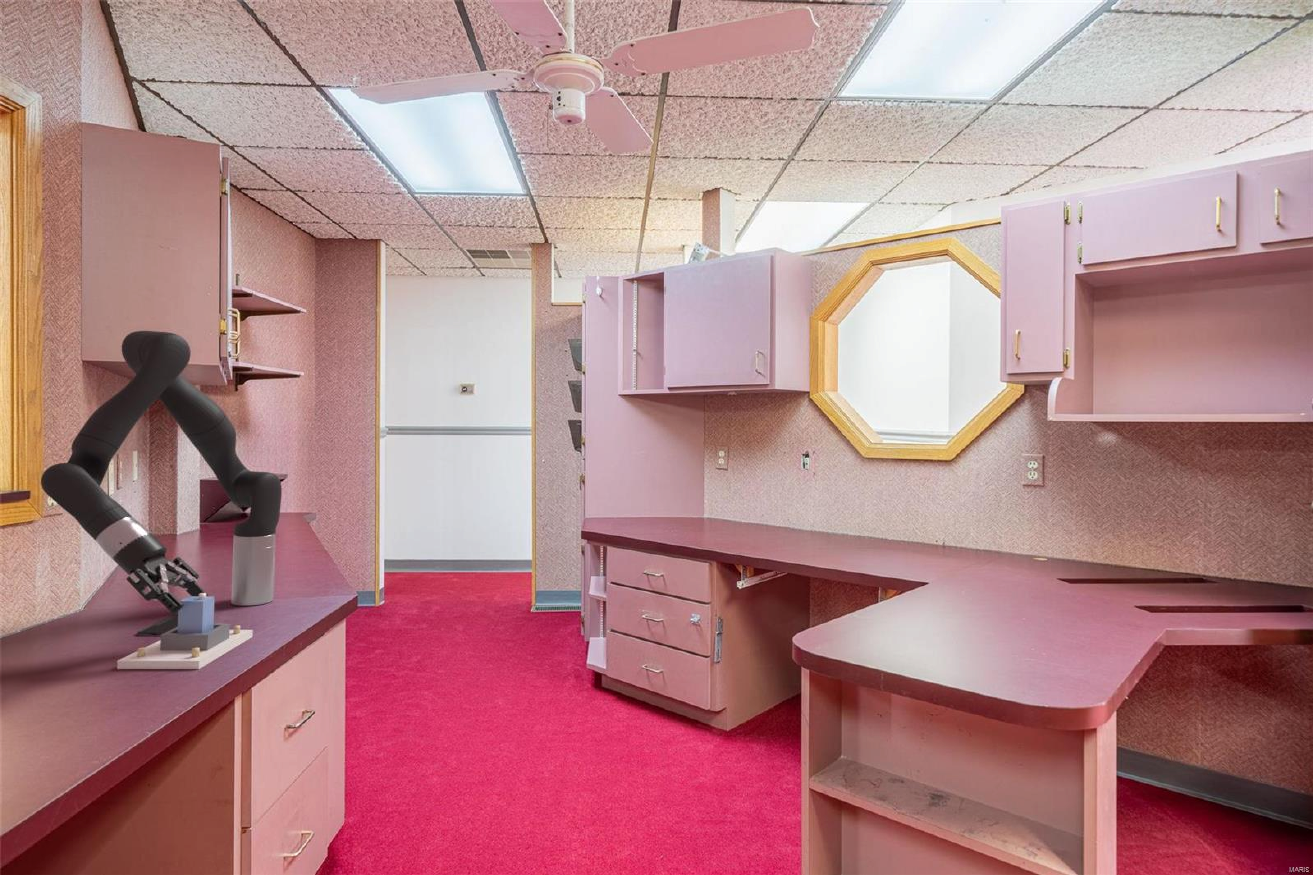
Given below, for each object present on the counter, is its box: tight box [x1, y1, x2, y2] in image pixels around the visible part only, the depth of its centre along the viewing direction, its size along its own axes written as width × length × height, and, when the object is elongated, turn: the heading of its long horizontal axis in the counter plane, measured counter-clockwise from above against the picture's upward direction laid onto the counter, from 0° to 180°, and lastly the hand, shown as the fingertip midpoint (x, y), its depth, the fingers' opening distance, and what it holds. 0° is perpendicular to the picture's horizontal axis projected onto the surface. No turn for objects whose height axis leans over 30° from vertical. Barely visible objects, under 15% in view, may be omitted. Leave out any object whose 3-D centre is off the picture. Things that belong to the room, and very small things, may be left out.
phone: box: [137, 613, 178, 637], centre depth 151 cm, size 8×1×15 cm
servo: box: [177, 593, 215, 633], centre depth 134 cm, size 4×4×10 cm
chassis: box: [116, 622, 254, 670], centre depth 134 cm, size 20×14×4 cm
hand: (192, 604), depth 134 cm, fingers open, 8 cm apart
